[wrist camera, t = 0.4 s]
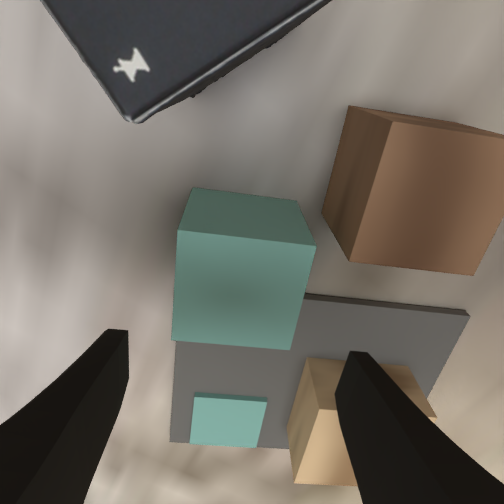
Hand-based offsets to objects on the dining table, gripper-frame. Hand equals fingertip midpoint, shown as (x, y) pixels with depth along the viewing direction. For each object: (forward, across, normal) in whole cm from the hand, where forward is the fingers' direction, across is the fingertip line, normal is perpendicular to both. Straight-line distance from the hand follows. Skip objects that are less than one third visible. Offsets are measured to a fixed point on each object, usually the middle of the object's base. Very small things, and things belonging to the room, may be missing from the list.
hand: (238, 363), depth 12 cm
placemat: (+9, -6, +10) cm, 15 cm away
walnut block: (+10, -7, -5) cm, 13 cm away
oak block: (+9, -9, +11) cm, 17 cm away
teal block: (+10, 0, 0) cm, 10 cm away
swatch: (+9, -1, +14) cm, 17 cm away
